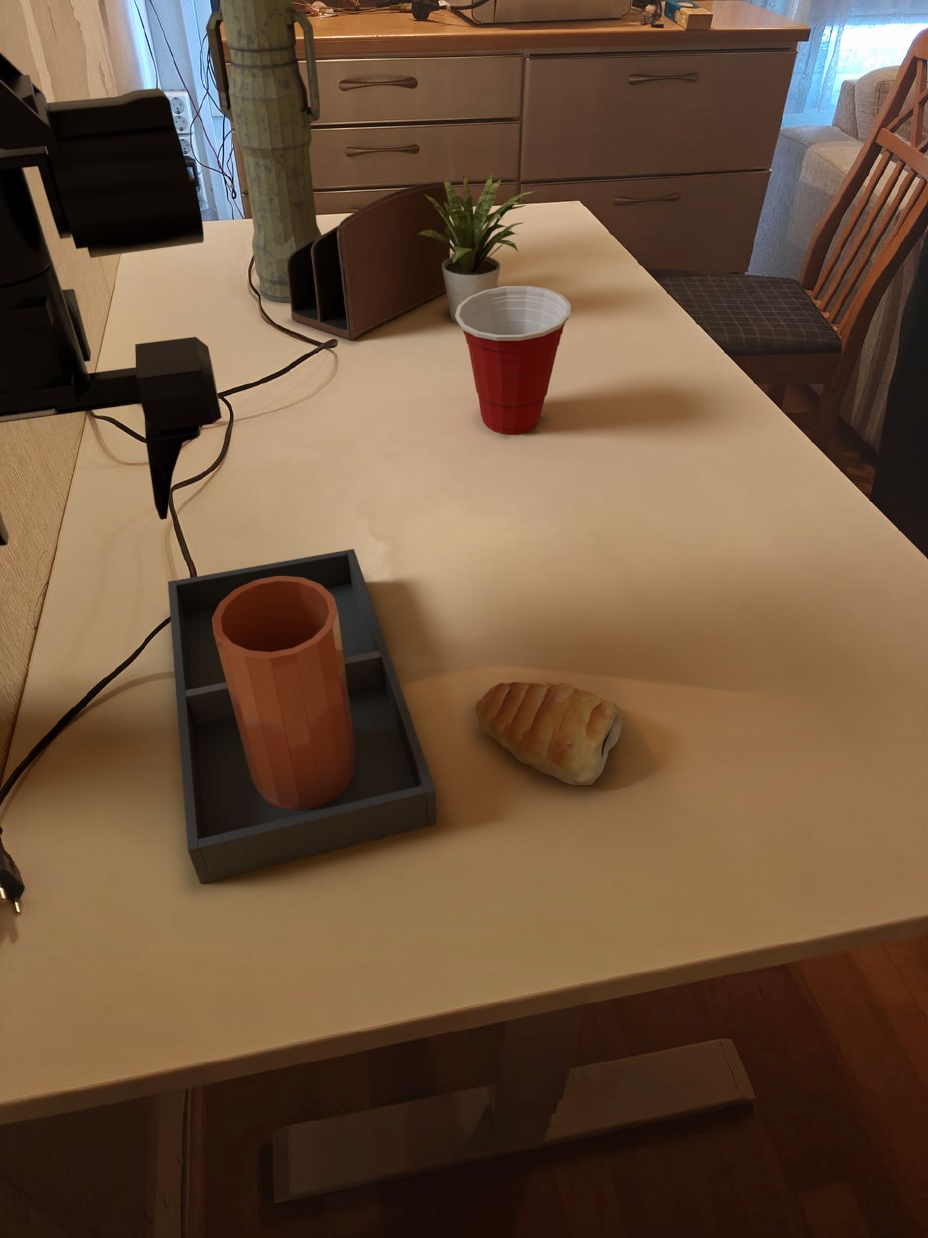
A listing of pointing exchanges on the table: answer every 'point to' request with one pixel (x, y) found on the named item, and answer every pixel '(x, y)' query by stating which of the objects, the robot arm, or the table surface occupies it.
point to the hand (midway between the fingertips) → (85, 528)
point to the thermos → (270, 126)
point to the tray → (214, 754)
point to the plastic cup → (512, 351)
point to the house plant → (472, 241)
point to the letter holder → (371, 264)
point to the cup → (288, 689)
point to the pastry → (552, 727)
